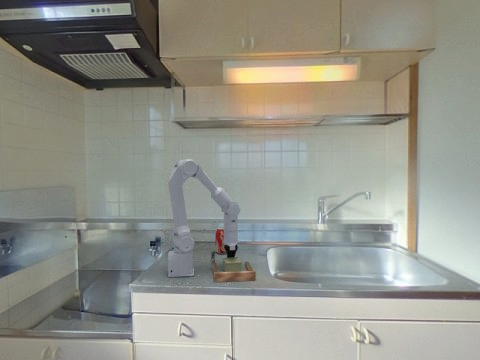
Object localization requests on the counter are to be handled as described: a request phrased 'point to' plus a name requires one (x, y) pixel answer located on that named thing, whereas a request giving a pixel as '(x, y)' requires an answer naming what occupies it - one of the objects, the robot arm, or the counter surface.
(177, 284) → the counter surface
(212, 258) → the crank handle
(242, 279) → the bay
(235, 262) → the box
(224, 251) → the soda can
